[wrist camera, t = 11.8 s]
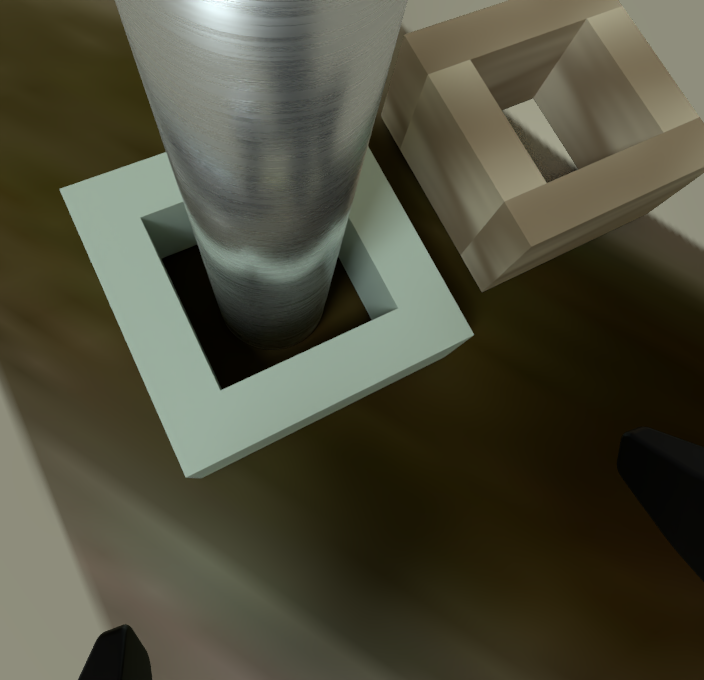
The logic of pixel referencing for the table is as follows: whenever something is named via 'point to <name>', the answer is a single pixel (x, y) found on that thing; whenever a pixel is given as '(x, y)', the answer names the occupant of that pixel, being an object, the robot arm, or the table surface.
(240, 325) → the axle
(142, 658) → the robot arm
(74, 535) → the table surface
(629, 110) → the brown square frame
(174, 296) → the socket block
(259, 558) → the table surface
